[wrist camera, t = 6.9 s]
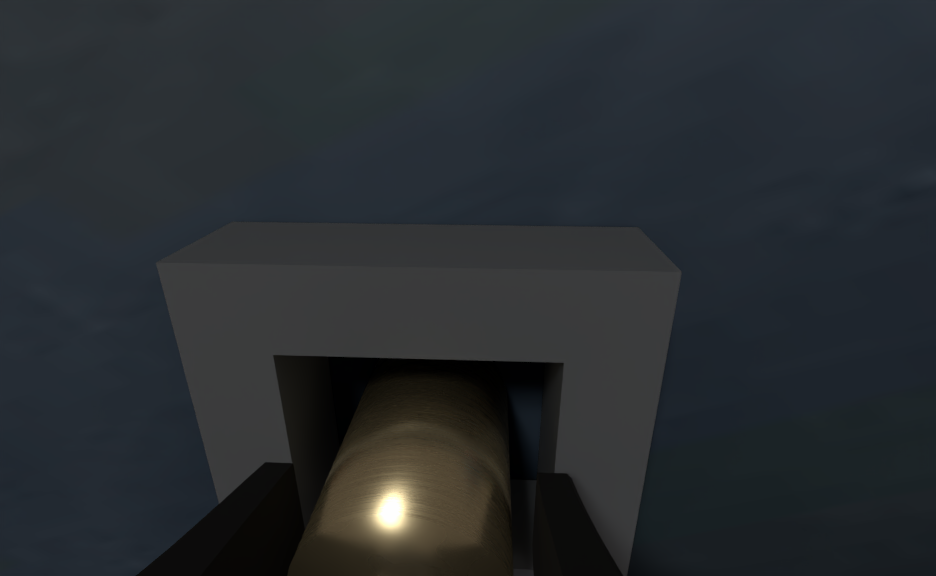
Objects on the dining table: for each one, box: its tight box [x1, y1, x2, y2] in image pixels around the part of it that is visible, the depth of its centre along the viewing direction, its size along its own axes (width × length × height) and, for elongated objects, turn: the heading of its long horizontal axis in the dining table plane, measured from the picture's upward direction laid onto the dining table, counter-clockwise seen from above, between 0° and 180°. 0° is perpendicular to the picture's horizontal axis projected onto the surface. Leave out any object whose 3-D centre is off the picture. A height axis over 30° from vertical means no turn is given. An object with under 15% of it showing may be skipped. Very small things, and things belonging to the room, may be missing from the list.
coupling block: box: [156, 222, 682, 576], centre depth 13 cm, size 10×10×3 cm
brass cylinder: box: [287, 358, 513, 576], centre depth 11 cm, size 4×4×6 cm
